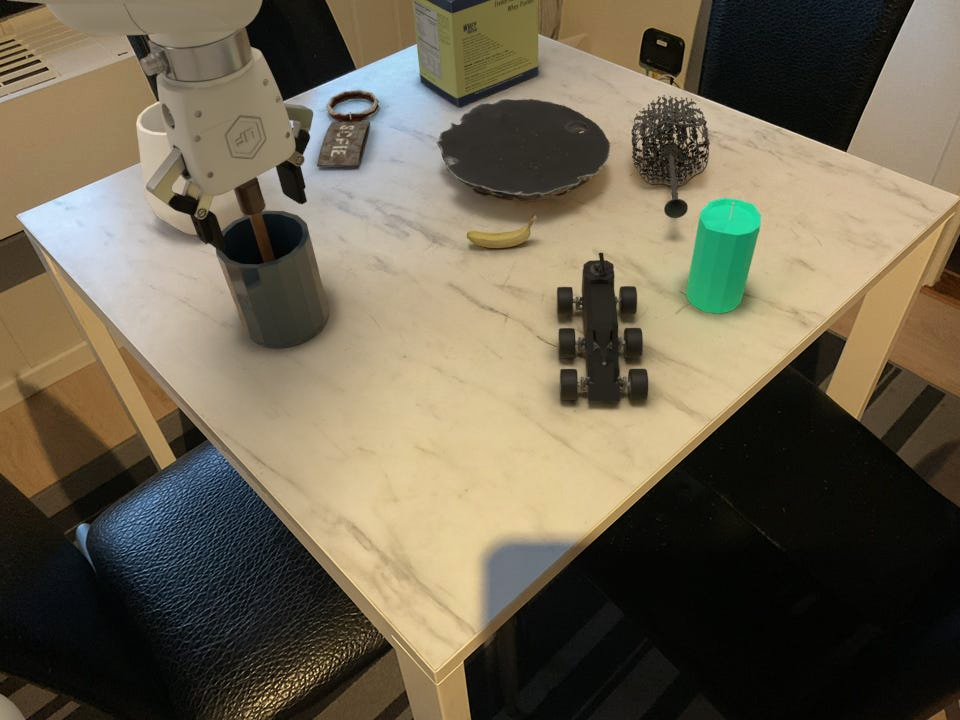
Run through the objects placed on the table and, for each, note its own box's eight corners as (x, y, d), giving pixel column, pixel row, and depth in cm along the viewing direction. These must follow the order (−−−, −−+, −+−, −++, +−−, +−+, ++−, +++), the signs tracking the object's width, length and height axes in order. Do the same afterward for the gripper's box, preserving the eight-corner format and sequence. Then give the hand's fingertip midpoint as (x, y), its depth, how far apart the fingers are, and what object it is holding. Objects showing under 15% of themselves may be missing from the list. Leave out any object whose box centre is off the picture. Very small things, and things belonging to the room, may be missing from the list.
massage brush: (630, 240, 93) (637, 172, 87) (627, 140, 108) (633, 74, 102) (711, 243, 92) (726, 174, 86) (698, 141, 107) (709, 75, 101)
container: (248, 356, 83) (218, 276, 75) (241, 301, 90) (212, 221, 82) (335, 336, 85) (314, 255, 77) (322, 282, 91) (301, 202, 83)
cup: (230, 171, 108) (198, 74, 98) (283, 212, 101) (255, 112, 91) (138, 214, 102) (95, 115, 92) (188, 261, 95) (147, 159, 85)
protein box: (540, 75, 122) (540, -31, 111) (458, 109, 116) (449, 1, 105) (498, 51, 128) (495, -51, 117) (418, 83, 122) (406, -21, 111)
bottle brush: (267, 331, 85) (222, 199, 73) (263, 305, 88) (219, 173, 76) (308, 322, 86) (270, 189, 73) (303, 296, 89) (265, 164, 76)
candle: (716, 269, 89) (735, 178, 80) (754, 300, 85) (778, 208, 77) (673, 289, 87) (689, 198, 79) (710, 321, 84) (731, 229, 75)
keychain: (307, 170, 107) (304, 157, 106) (332, 99, 120) (330, 87, 119) (364, 169, 107) (362, 156, 105) (383, 98, 120) (381, 86, 118)
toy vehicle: (632, 302, 86) (640, 237, 80) (646, 408, 76) (657, 344, 70) (556, 303, 87) (558, 238, 80) (560, 408, 76) (562, 344, 70)
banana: (535, 238, 95) (535, 210, 92) (537, 247, 94) (537, 219, 91) (467, 243, 95) (465, 216, 92) (468, 253, 93) (466, 225, 91)
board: (601, 128, 111) (604, 94, 107) (615, 224, 96) (618, 188, 92) (444, 133, 112) (441, 99, 108) (433, 228, 97) (429, 193, 93)
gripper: (131, 106, 59) (201, 281, 72) (315, 25, 67) (349, 195, 80) (84, 76, 63) (158, 248, 75) (263, 2, 71) (303, 168, 84)
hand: (256, 220), depth 78 cm, fingers open, 9 cm apart
